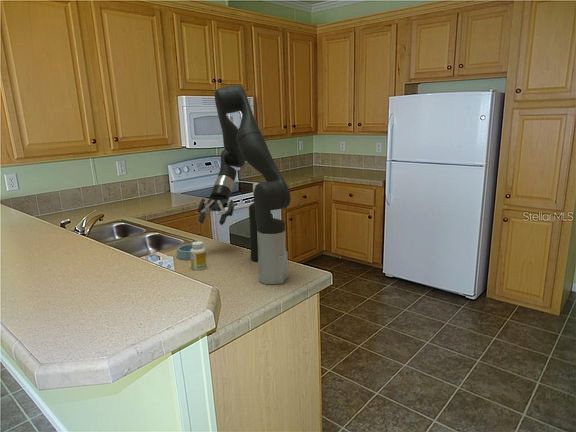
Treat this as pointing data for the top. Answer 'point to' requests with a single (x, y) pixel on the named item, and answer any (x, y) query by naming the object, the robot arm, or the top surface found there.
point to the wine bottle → (253, 231)
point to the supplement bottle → (198, 256)
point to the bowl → (184, 252)
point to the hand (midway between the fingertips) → (210, 223)
